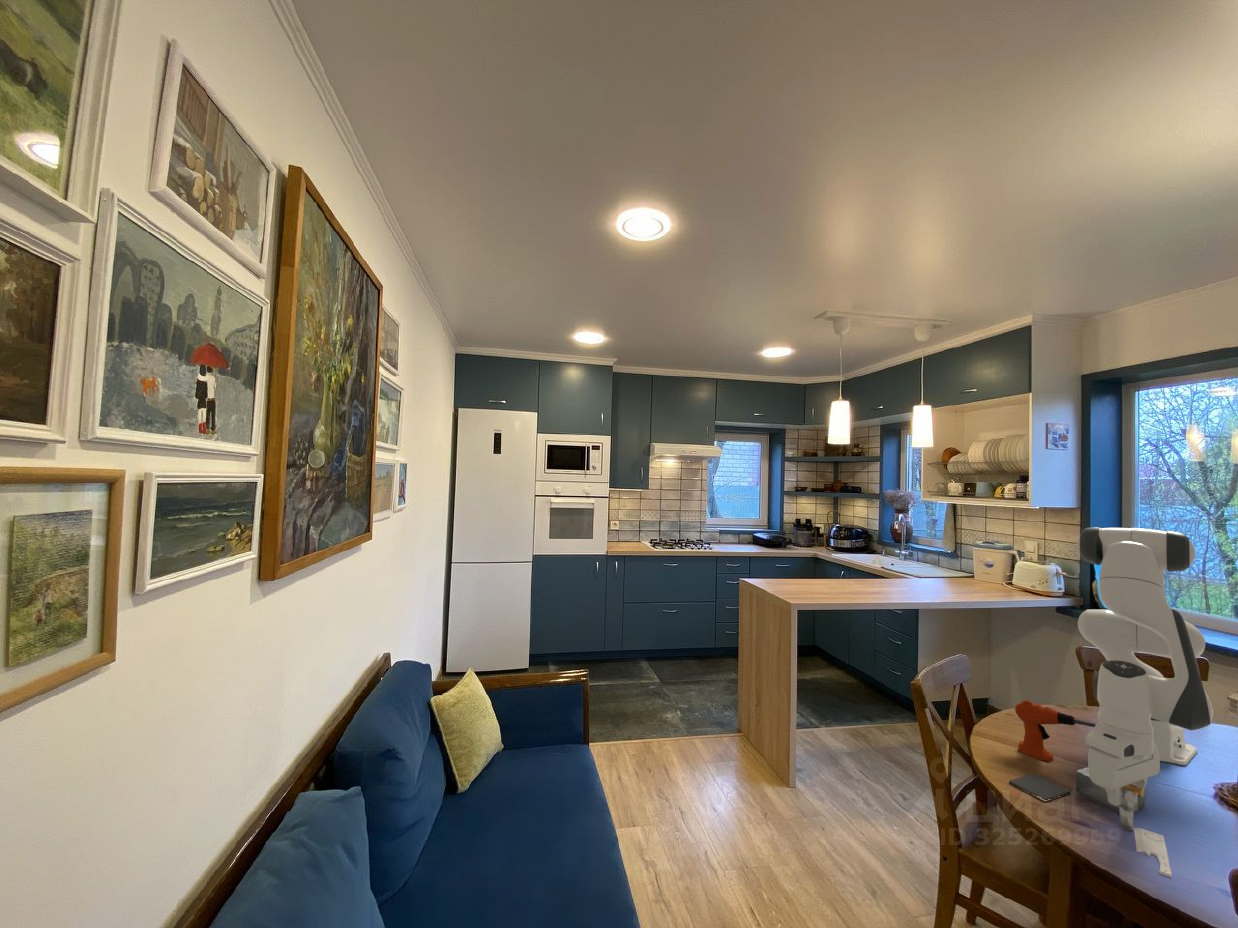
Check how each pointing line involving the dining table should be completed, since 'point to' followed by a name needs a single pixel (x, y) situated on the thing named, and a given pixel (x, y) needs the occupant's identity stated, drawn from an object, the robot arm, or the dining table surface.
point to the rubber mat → (1039, 786)
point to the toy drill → (1040, 727)
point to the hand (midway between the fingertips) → (1126, 799)
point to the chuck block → (1098, 791)
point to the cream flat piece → (1153, 848)
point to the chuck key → (1128, 805)
